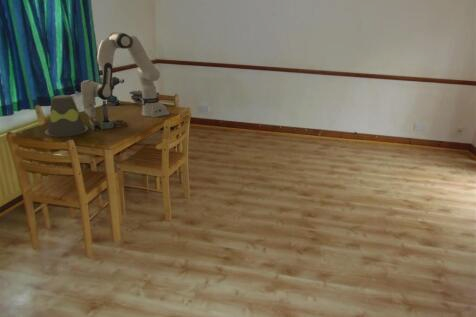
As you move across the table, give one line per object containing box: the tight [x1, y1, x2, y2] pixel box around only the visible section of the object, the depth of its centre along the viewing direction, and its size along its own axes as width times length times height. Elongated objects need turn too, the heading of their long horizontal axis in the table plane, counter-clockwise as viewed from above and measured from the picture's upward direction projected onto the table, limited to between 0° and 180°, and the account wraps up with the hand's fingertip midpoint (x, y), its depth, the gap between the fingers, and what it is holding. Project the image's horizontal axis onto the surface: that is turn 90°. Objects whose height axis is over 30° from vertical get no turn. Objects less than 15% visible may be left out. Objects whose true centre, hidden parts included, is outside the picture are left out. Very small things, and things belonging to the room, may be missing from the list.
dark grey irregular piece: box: [129, 90, 160, 106], centre depth 336 cm, size 25×8×11 cm, turn 79°
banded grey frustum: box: [44, 94, 89, 138], centre depth 251 cm, size 28×28×24 cm
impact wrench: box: [99, 76, 125, 106], centre depth 327 cm, size 8×22×25 cm, turn 78°
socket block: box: [88, 119, 115, 131], centre depth 263 cm, size 15×8×4 cm, turn 124°
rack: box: [112, 119, 128, 128], centre depth 270 cm, size 8×8×3 cm
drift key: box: [88, 118, 99, 127], centre depth 268 cm, size 4×8×4 cm, turn 34°
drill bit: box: [102, 100, 110, 123], centre depth 262 cm, size 3×3×19 cm
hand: (91, 121), depth 273 cm, fingers closed
